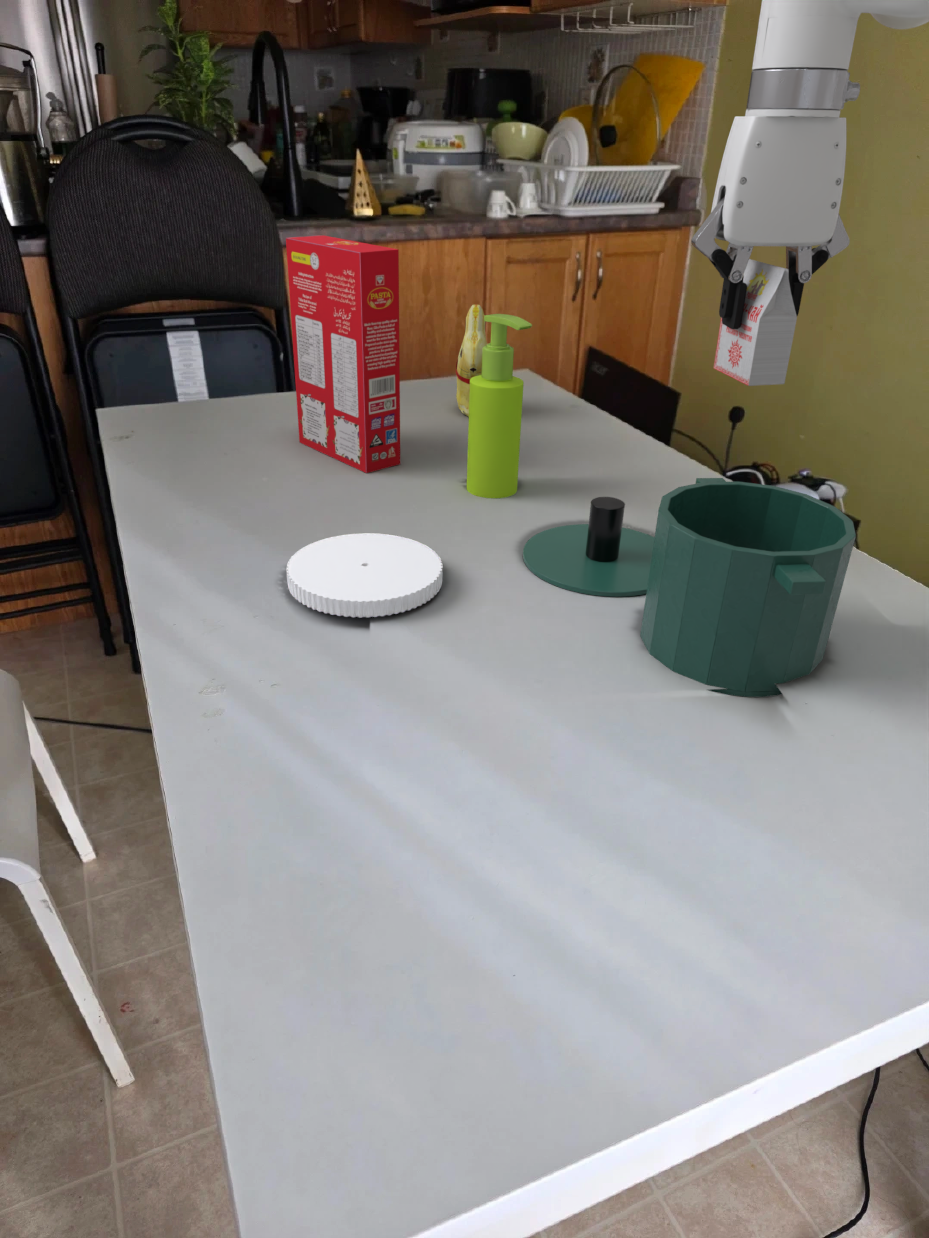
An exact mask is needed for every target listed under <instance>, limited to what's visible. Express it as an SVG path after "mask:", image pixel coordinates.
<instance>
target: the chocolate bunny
mask: <svg viewBox="0 0 929 1238" xmlns="http://www.w3.org/2000/svg"><path fill="white" fill-rule="evenodd" d="M484 316H485V313H484V309H483V307H482V306H481V305H480V304H472V305H471V306H470V307H469V309H468V311H467V314H466V317H465V332H464V335H463V339H462V343H461V346H460V349H459V352H458V357H457V359H456V362H455V375H456V394H455V399H456V402H457V407H458V409H459V410H460V413H462V414H463V415H465V416H466V417H468V418H469V392H470V379H471V378H472V377H475V376H478V375H482V350H483V347H484V346H486V345H487V344H488V342H487V336H486V335H487V334H486V321H484Z"/></svg>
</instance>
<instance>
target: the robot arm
mask: <svg viewBox="0 0 929 1238" xmlns="http://www.w3.org/2000/svg"><path fill="white" fill-rule="evenodd" d="M760 5H761V6H760V13H759V17H758V26H757V34H756V40H755V46H754V53H753V59H752V67H751V74H750V81H749V88H748V94H747V100H746V109H745V114H744V115H743V116H741V115H740V116H737V115H736V116H734V118H733V121H732V124H731V127H730V131H729V134H728V137H727V140H726V143H725V148H724V151H723V155H722V159H721V163H720V167H719V170H718V176H717V180H716V185H715V189H714V195H713V199H712V205H711V211H710V213H709V214H708V216H707V217H706V219H705V220H704V221H703V222H702V224H701V225H700V227H699V228H698V230H697V231H696V232H695V233H694V234H693V236H692V237H691V241H690V243H691V245H692V246H693V247H694V248H695V249H696V250H697V251H698V252H700V254H702V255H703V256H704V257H706V258H707V259H708V260H709V262H710V263H711V264H712V266H713V267H714V268H715V270H716V271H717V272H718V273H719V277H721V278H722V279H723V282H722V288H721V294H720V295H721V296H720V303H719V308H718V315H719V317H720V319H721V318H722V324H724V325H725V326H727V327H729V328H731V329H738V328H740V327H741V323H742V317H743V310H744V304H745V298H746V292H747V284H746V283H744V282H743V278H744V272H745V269H746V267H747V264H748V261H749V259H751V255H752V252H753V249H754V248H755V247H785V268H786V269H788V271H789V284H790V290H791V295H792V299H793V303H794V307H795V311H796V315H797V317H798V316H799V313H800V307H801V304H802V298H803V291H804V287H805V284H806V283H808V282H809V281H810V280H811V279H812V275H814V273H816V272H817V271H818V270H819V269H820V268H821V267H823V266H824V265H825V264H826V263H827V262H828V260H829V259H830V258H833V257H834V256H837V255H838V254H839V253H840V252H842V251H845V249H846V248H847V247H849V245H850V242H851V241H850V237H849V235H848V233H847V230H846V228H845V225H844V222H843V220H842V218H841V215H840V208H841V202H842V195H843V188H844V180H845V171H846V161H847V160H846V159H847V117H840V116H841V110H843V109H844V108H845V103H848V102H855V101H857V100H858V98H859V95H860V92H861V84H860V83H859V82H856V81H855V82H854V81H853V82H852V81H851V80H850V76H851V72H849V68H850V63H851V58H852V52H853V47H854V43H855V42H854V41H855V36H856V33H857V26H858V20H859V18H860V17H861V15H862V14H870V15H871V16H872V18H873V19H874V20H875V21H876V22H878V23H879V24H881V25H882V26H884V27H887V28H890V29H894V30H909V29H914V28H918V27H921V26H923V25H926V24H927V23H929V0H761V3H760ZM716 240H720V241H724V242H727V243H728V245H727V248H726V250H724V249H723V248H722V247H720V246H719V244H717V242H716ZM814 246H816V247H814ZM813 247H814V248H813Z"/></svg>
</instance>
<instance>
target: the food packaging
mask: <svg viewBox="0 0 929 1238" xmlns="http://www.w3.org/2000/svg"><path fill="white" fill-rule="evenodd" d="M285 245H286V247H285V248H286V261H287V275H288V293H289V306H290V320H291V322H290V323H291V336H292V337H291V338H292V352H293V366H294V383H295V395H296V396H295V398H296V409H297V425H298V426H297V427H298V440H299V441H298V442H299V443H300V444H302V445H304V446H306V447H309V448H311V449H313V450H315V451H317V452H320V453H322V454H324V455H326V456H328V457H329V458H333V459H335V460H337V461H339V462H342V463H344V464H346V465H348V466H350V467H352V468H354V469H357V470H358V471H361V472H363V473H365V474H369V473H372V472H376V471H380V470H384V469H388V468H391V467H395V466H399V465H401V394H400V393H401V387H400V386H401V379H400V378H401V377H400V375H401V371H400V370H401V368H400V362H401V361H400V355H401V354H400V262H399V261H400V258H399V257H400V255H399V253H400V250H399V249H398V248H393V247H387V246H382V245H377V244H371V243H366V242H361V241H356V240H350V239H346V238H339V237H334V236H330V235H324V234H323V235H322V234H321V235H309V236H293V237H292V236H291V237H285Z"/></svg>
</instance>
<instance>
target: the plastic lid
mask: <svg viewBox="0 0 929 1238" xmlns="http://www.w3.org/2000/svg"><path fill="white" fill-rule="evenodd" d="M443 565H444V564H443V560H442V559H441V557H440V555H439V554H437V551H435V550H434V549H433V548H431V547H430V546H427V544H423V542H419V541H418V540H413V539H412V538H408V537H403V536H402V535H398V536H397V535H396V534H393V535H392V534H389V533H387V534H384V533H377V532H374V533H372V532H368V533H365V532H361V533H357V532H355V533H348V534H342V535H340V534H339V535H338V534H337V535H335V536H330V537H325V538H324V539H319V540H318V541H317V540H315V541H313V543H312V542H311V543H308V545H305V546H304V547H301V548H300V549H298V550H297V551H296V552H294V553H293V555H291V556H290V558H289V559H288V561H287V564H286V568H285V569H286V581H287V583H286V584H287V588H288V591H289V594H290V595H291V596H292V598H294V599H295V600H296V601H298V603H300V604H301V603H302V605H303V606H306V607H307V608H308V609H310V608H311V610H313V611H314V610H317V612H319V613H321V612H323V614H329V615H330V616H331V615H332V616H334V615H336V616H337V617H341V616H343V617H344V618H348V617H351V618H356V617H357V618H371V617H372V618H373V617H374V618H377V617H385V616H392V615H394V614H395V615H397V614H399V613H405V612H406V611H411V610H412V609H416V608H417V607H421V606H423V604H426V603H427V602H429V601H431V599H434V597H435V596H436V595H437V594H438V593H439V592H440V589H441V588H442V586H443V572H444V571H443V570H444V569H443V568H444V566H443Z"/></svg>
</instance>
